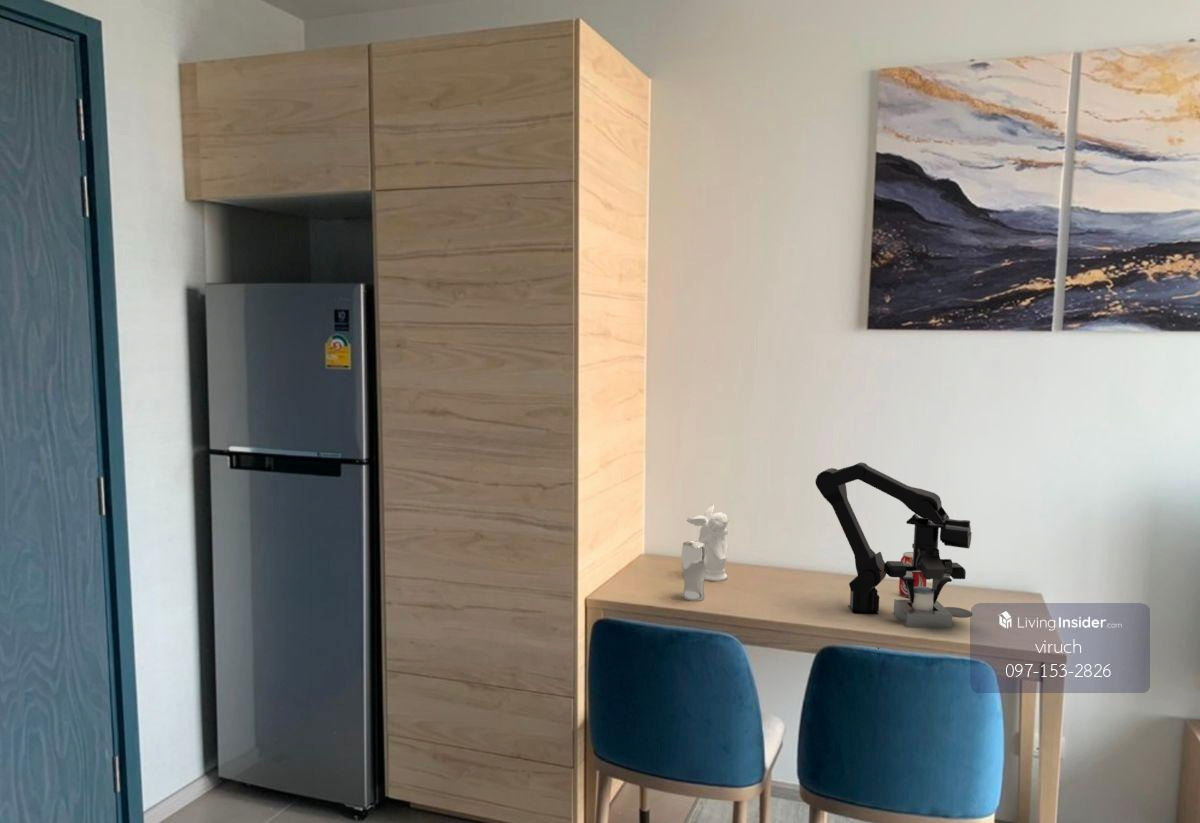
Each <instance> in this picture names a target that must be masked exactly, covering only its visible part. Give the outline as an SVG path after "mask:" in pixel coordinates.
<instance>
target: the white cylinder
mask: <svg viewBox="0 0 1200 823" xmlns="http://www.w3.org/2000/svg"><path fill="white" fill-rule="evenodd" d="M933 599H934V590H933V589H932V587H929V586H928V587H927V586H926V587H924V586H916V587H914V602H913V603H912V609H913V610H914V611H933Z"/></svg>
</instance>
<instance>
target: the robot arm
mask: <svg viewBox="0 0 1200 823" xmlns="http://www.w3.org/2000/svg"><path fill="white" fill-rule="evenodd" d="M857 480H859V481H861V482H863V483H864V484H867V485H869V486H870V487H873V488H875V489H877V490H879V491H880V492H882V493H884V494H886V495H889V496H891V497H892V498H895V499H897V500H898V501H900V502H901V503H902V504H904V505H905V506H906V507H907V508H908V510H910V511H911V512H913V513H914V514H913V515H912V516H911V517H910V518H908V519H907V520H906V524H907V525H912V526H913V525H914V530H913V533H914V534H913V543H912V549H913V550H912V552H913V559H912V562H911V563H912V564H913V566H909V565H904V564H903V563H902V562H901V560H899V561H898V560H897V561H895V560H886V561H884V557H883V554H882V552H881V551H878V552H877V553H876V552H875V551H874V550H873V549H872V548H871V547H870V545H869V542H868V540H867V537H866V536H865V534H864V531H863V529H862V527H861V525H860V523H859V521H858V518H857V516H856V514H855V511H854V510H853V508H852V505H851V504H850V502H849V499H848V492H847V491H848V490H847V485H846V484H848V483H851V482H854V481H857ZM815 486H816V488H817V489H818V491H819V492H820V494H821V495H822V497H823V498H824V499H825V500H826V502H828V503H829V504H830V505H831V507H832V509H833V511H834V514H835V516H836V518H837V520H838V522H839V524H840V527H841V530H843V534H844V535H845V538H846V540H847V542H848V543H849V544H848V545H849V546H850V549H851V550H852V551H851V552H852V553H853V555H854V561H855V563H854V565H855V569H856V574H857V575H856V577H854V578H853V579H852V580H851V581H850V582H849V583H848V585H849V588H850V595H849V605H847V607H848V608H849V610H850V611H851V612H852V614H856V615H879V610H880V596H879V594H878V589H877V588H876V587H877V586H878V585H879V584H880V583H881V582H882V581H884V580H885V578H886V576H888V577H890V578H901V579H902V580H903V582H904V584H905V586H906V589H907V592H908V595H909V600H910V601H911V603H913V602H914V581H915V579H914V578H913V577H912V573H922V575H923V577H924V578H925V579H927V580H932V583H931V585H932V586H931V588H932V589H933V590H934V599H933V604H935V602H936V601H938V600H937V599H938V598H939V595H940V593H941V592H942V589H943V588H944V586H945V585H946V584H947V583H951V582H953V580H965V579H966V576H967V574H966V569H965V568H964V566H962V565H961V564H959V563H958V562H953V561H952V559H951V558H944V559H943V558H941V556H940V549H939V548H938V547H939V540H940V542H941V544H942V543H943V545H944V546H947V547H953V548H962V549H970V547H971V542H972V534H973V532H972V530H971V529H972V526H971V520H968V519H967V520H965V519H964V520H963V519H962V520H960V519H952V518H950V516H949V515H948V513H947V512H946V511H945V509H944V507H943V506H942V505H943V504H942V500H941V496H939V495H938V494H936V492H932V491H929V490H926V489H923V488H917V487H914V486H910V485H907V484H905V483H903V482H901V481H900V480H898V479H895V478H893V477H891V476H889V475H887V474H885V473H883V472H882V471H879V470H877V469H875V468H873V467H871V466H869V465H868V464H867V463H865V462H858V463H856V464H853V465H851V466H847V467H842V468H840V469H837V468H833V467H830V468H828V469H827V468H826V469H824V471H822V472H819V473H818V474H817V475H816V478H815ZM939 530H940V531H939Z"/></svg>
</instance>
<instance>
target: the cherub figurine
mask: <svg viewBox="0 0 1200 823" xmlns="http://www.w3.org/2000/svg"><path fill="white" fill-rule="evenodd" d="M714 509H715V504H714V501H713V500H712V501H711V506H710V507H709V508H707V509H706V510H705V511H704V514H703V515H702V514H700V515H699V514H698V515H695V516H694V517H692V518H689V517H688V518H687V520H686V522H687V523H689V524H691V525H694V526H697V527H699V526H700V530H699V537H698V542H703V543H706V544H707V567H706V573H705V577H704V581H712V582H720V581H721V582H722V581H723V582H724V581H726V580H727V578H728V574H727V573H726V572H725V571H726V568H725V566H726V564H727V562H728V561H727V560H728V559H729V556H728V555H729V554H728V550H729V544H728V539H727V535H728V534H729V532H728V529H727V528H726V527H727V525H728V522H730V520H729V518H728V515H727V514H725V513H724V512H720V511H719V512H714V511H715V510H714ZM713 512H714V513H713Z"/></svg>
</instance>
